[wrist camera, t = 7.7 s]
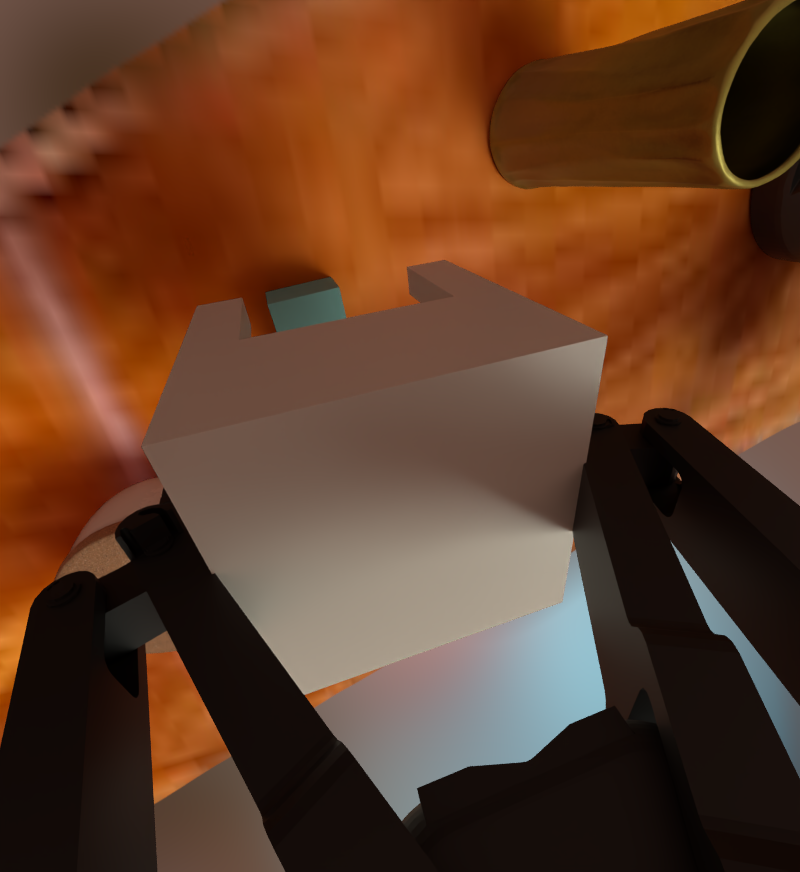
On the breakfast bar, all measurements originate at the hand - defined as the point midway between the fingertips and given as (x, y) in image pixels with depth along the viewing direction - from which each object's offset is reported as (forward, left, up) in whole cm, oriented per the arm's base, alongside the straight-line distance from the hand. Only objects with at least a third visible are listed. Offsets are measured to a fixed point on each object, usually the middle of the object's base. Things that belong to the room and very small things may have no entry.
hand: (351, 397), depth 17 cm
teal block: (0, 0, -12) cm, 12 cm away
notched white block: (0, 0, 0) cm, 0 cm away
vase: (-4, -17, -12) cm, 21 cm away
